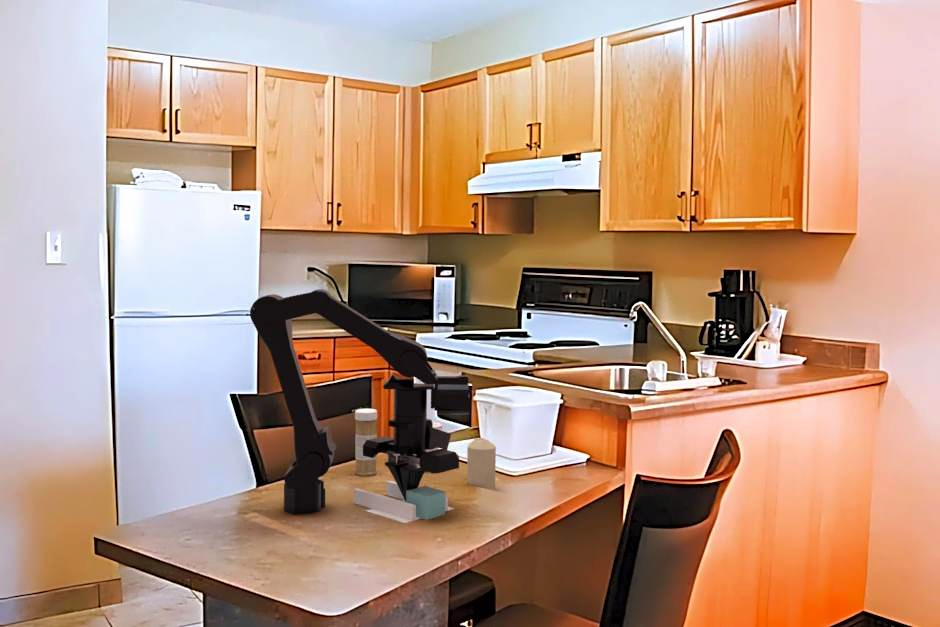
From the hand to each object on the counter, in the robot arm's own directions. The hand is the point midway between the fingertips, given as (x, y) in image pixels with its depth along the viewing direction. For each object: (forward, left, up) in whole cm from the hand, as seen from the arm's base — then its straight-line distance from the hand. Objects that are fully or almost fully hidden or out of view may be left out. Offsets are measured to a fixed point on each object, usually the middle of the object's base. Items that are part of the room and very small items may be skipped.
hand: (409, 502), depth 160 cm
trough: (0, +2, -3) cm, 3 cm away
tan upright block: (+23, +4, -3) cm, 23 cm away
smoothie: (+27, +23, -3) cm, 35 cm away
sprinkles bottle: (+15, +29, -3) cm, 32 cm away
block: (0, -4, -1) cm, 4 cm away
